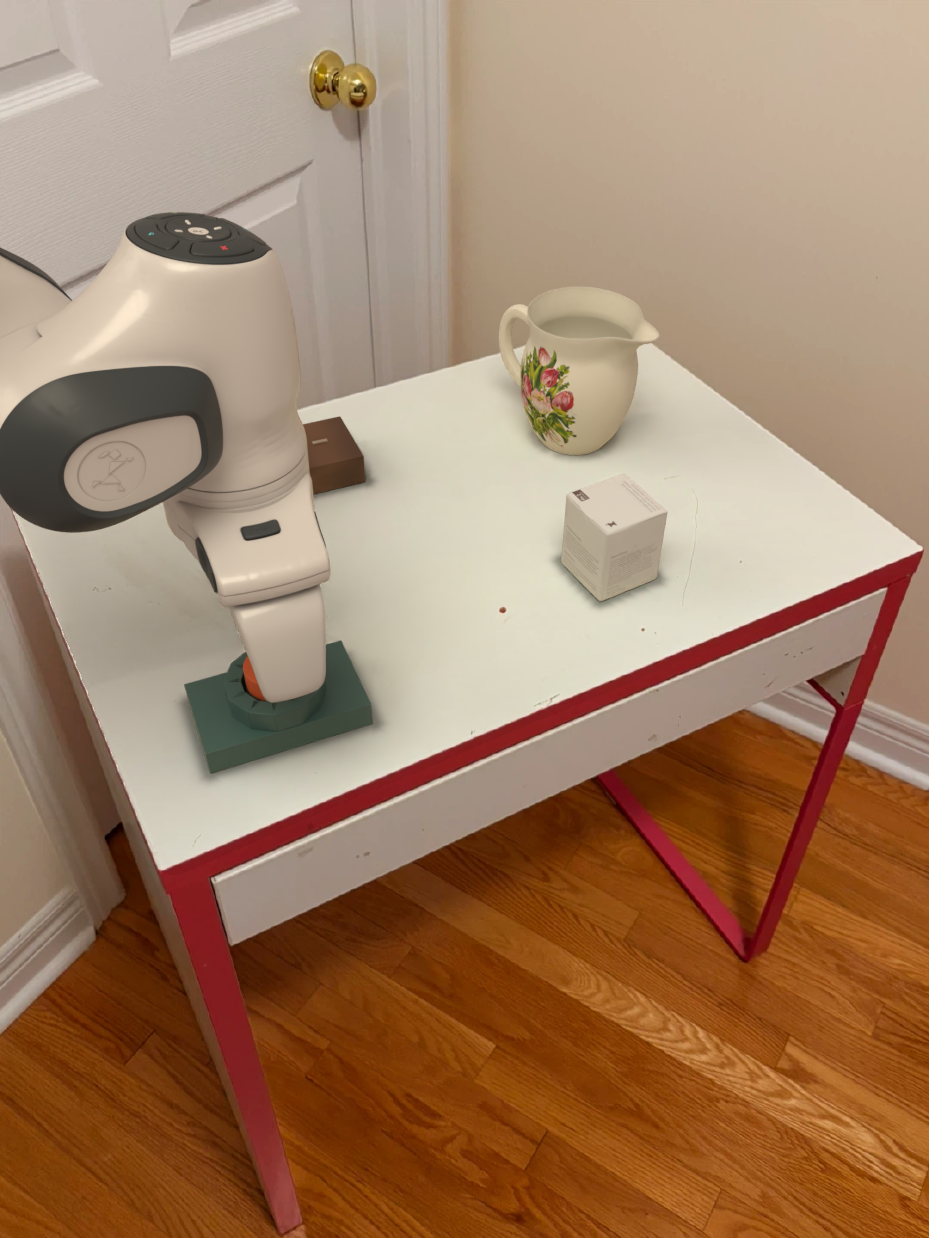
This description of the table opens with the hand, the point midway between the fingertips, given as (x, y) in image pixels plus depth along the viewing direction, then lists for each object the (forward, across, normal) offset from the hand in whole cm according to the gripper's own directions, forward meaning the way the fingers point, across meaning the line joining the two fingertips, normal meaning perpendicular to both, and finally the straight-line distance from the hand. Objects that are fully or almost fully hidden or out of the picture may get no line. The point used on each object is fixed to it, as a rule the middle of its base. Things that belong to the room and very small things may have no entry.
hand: (261, 648), depth 73 cm
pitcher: (+6, -24, +37) cm, 45 cm away
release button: (+3, 0, +1) cm, 3 cm away
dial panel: (+7, -28, +9) cm, 30 cm away
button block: (+7, 0, +1) cm, 7 cm away
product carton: (+6, -4, +31) cm, 32 cm away
